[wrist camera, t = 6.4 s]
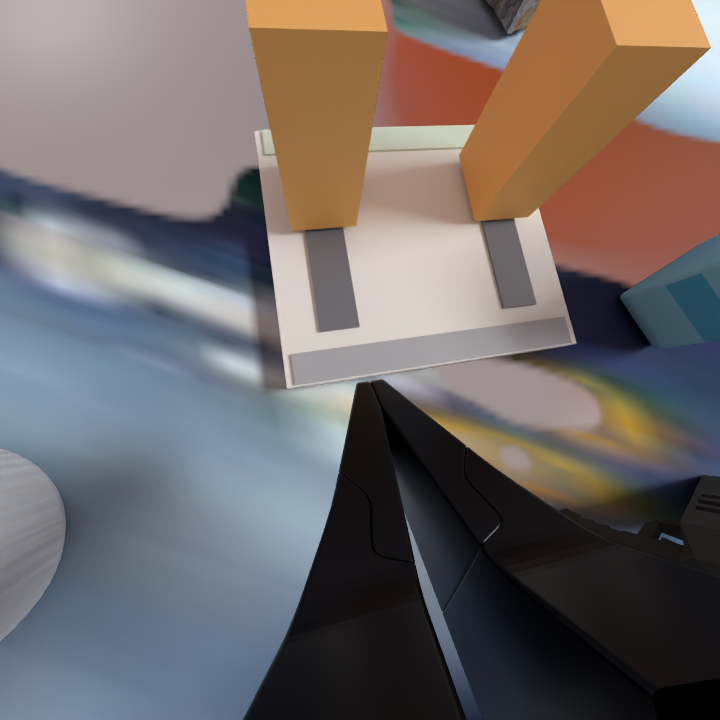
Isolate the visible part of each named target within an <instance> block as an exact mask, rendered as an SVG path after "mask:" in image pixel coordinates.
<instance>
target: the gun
mask: <svg viewBox="0 0 720 720" xmlns="http://www.w3.org/2000/svg"><path fill="white" fill-rule="evenodd" d="M561 513H562V514H564V515H565V516H567V517H568V518H570V519H571V520H573V521H574V522H576V523H577V524H579V525H581V526H582V527H584V528H586V529H587V530H589V531H591V532H593V533H595V534H597V535H599V536H601V537H603V538H605V539H607V540H609V541H612V542H614V543H617V544H619V545H622V546H625V547H628V548H631V549H634V550H637V551H640V552H643V553H647V554H650V555H653V556H656V557H659V558H662V559H665V560H668V561H671V562H674V563H677V564H680V565H684V566H687V567H690V568H693V569H696V570H699V571H702V572H705V573H708V574H711V575H714V576H717V577H720V477H716V476H707V475H703V476H702V477H701V479H700V481H699V483H698V485H697V487H696V489H695V492H694V494H693V496H692V498H691V500H690V502H689V504H688V506H687V508H686V510H685V512H684V514H683V516H682V518H681V521H658V520H655V521H650V522H645V524H644V525H643V526H642V528H641V529H640V531H639V532H638V534H634V533H630V532H626V531H622V530H621V531H618V530H614V529H611V528H610V526H607V525H602V524H598V523H594V521H593V520H590V519H585V518H581V517H580V515H578V514H576V513H574V512H572V511H570V510H568V509H563V510H562V511H561ZM661 533H665V534H667V535H670V536H673V537H675V538H678V539H681V540H683V544H684V546H683V545H680V544H677V543H674V542H672V541H670V540H668V539H666V538H663V537H662V538H661V540H662V541H661V540H658V538H659V537H660V535H661Z"/></svg>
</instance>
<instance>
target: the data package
mask: <svg viewBox="0 0 720 720" xmlns="http://www.w3.org/2000/svg"><path fill="white" fill-rule="evenodd" d="M620 299H621V301H622V302H623V304H624V305H625V307H626V308H627V310H628V311H629V313H630V314H631V316H632V317H633V319H634V320H635V321H636V323H637V324H638V326H639V327H640V329H641V330H642V332H643V333H644V335H645V336H646V338H647V339H648V341H649V342H650V344H651V345H652V346H653V347H655V348H672V347H678V346H685V345H691V344H697V343H703V342H709V341H715V340H720V234H719V235H717V236H715V237H713V238H711V239H709V240H707V241H705V242H703V243H701V244H700V245H698V246H696V247H695V248H693V249H692V250H690V251H689V252H687V253H685V254H684V255H682V256H681V257H679V258H678V259H676V260H674V261H673V262H671V263H670V264H668V265H666V266H665V267H663V268H662V269H660V270H659V271H657V272H655V273H654V274H652V275H651V276H649V277H648V278H646V279H644V280H643V281H641V282H640V283H638V284H636V285H635V286H633V287H632V288H630V289H628V290H627V291H625V292H624V293H623V294H622V295H621V296H620Z"/></svg>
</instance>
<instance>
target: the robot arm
mask: <svg viewBox="0 0 720 720" xmlns="http://www.w3.org/2000/svg"><path fill="white" fill-rule="evenodd" d="M404 512H405V514H406V517H407V520H408V522H409V525H410V528H411V530H412V533H413V536H414V538H415V541H416V544H417V546H418V549H419V552H420V554H421V557H422V560H423V562H424V565H425V568H426V570H427V573H428V576H429V578H430V581H431V583H432V586H433V589H434V591H435V594H436V597H437V599H438V602H439V605H440V607H441V610H442V612H443V616H444V618H445V621H446V624H447V626H448V629H449V632H450V634H451V637H452V640H453V642H454V645H455V648H456V650H457V653H458V656H459V658H460V661H461V664H462V666H463V669H464V672H465V674H466V677H467V680H468V682H469V685H470V688H471V690H472V693H473V695H474V698H475V701H476V703H477V706H478V709H479V711H480V714H481V717H482V719H483V720H720V577H717V576H714V575H711V574H708V573H705V572H702V571H699V570H696V569H693V568H690V567H687V566H684V565H680V564H677V563H674V562H671V561H668V560H665V559H662V558H659V557H656V556H653V555H650V554H647V553H643V552H640V551H637V550H634V549H631V548H628V547H625V546H622V545H619V544H617V543H614V542H612V541H609V540H607V539H605V538H603V537H601V536H599V535H597V534H595V533H593V532H591V531H589V530H587V529H586V528H584V527H582V526H581V525H579V524H577V523H576V522H574V521H573V520H571V519H570V518H568V517H567V516H565V515H564V514H562V513H561V512H559V511H558V510H556V509H555V508H553V507H552V506H550V505H549V504H547V503H546V502H544V501H543V500H541V499H540V498H538V497H537V496H535V495H534V494H532V493H531V492H529V491H528V490H526V489H525V488H523V487H522V486H520V485H519V484H517V483H516V482H514V481H513V480H511V479H510V478H509V477H507V476H506V475H504V474H503V473H501V472H500V471H498V470H497V469H496V468H494V467H493V466H492V465H490V464H489V463H488V462H487V461H485V460H484V459H483V458H481V457H480V456H479V455H477V454H476V453H475V452H474V451H472V450H471V449H470V448H469V447H466V445H465V444H463V443H462V442H461V441H460V440H458V439H457V438H456V437H455V436H453V435H452V434H451V433H450V432H448V431H447V430H446V429H445V428H443V427H442V426H441V425H440V424H438V423H437V422H436V421H435V420H433V419H432V418H431V417H429V416H428V415H427V414H426V413H424V412H423V411H422V410H421V409H419V408H418V407H417V406H416V405H414V404H413V403H412V402H411V401H409V400H408V399H407V398H406V397H404V396H403V395H402V394H401V393H399V392H398V391H397V390H396V389H394V388H393V387H392V386H391V385H389V384H388V383H387V382H386V381H384V380H382V379H380V380H373V381H371V382H368V381H367V382H361V383H357V385H356V389H355V394H354V399H353V404H352V409H351V414H350V419H349V424H348V429H347V434H346V439H345V444H344V449H343V454H342V459H341V464H340V469H339V474H338V478H337V483H336V488H335V492H334V496H333V501H332V505H331V509H330V512H329V515H328V518H327V522H326V525H325V528H324V532H323V535H322V537H321V540H320V543H319V546H318V549H317V552H316V555H315V558H314V561H313V564H312V567H311V570H310V573H309V576H308V579H307V581H306V584H305V587H304V590H303V593H302V596H301V599H300V601H299V604H298V607H297V609H296V612H295V614H294V617H293V619H292V622H291V624H290V627H289V629H288V631H287V634H286V636H285V638H284V640H283V642H282V644H281V646H280V648H279V650H278V652H277V654H276V656H275V658H274V660H273V662H272V664H271V666H270V668H269V670H268V672H267V674H266V676H265V678H264V680H263V681H262V683H261V685H260V687H259V689H258V691H257V693H256V695H255V697H254V699H253V701H252V703H251V705H250V707H249V709H248V711H247V713H246V715H245V717H244V719H243V720H466V717H465V714H464V712H463V709H462V706H461V703H460V700H459V697H458V695H457V692H456V689H455V686H454V683H453V680H452V678H451V675H450V672H449V669H448V666H447V663H446V661H445V658H444V655H443V652H442V649H441V646H440V644H439V641H438V638H437V635H436V632H435V629H434V627H433V624H432V621H431V618H430V615H429V612H428V610H427V607H426V604H425V601H424V597H423V593H422V590H421V586H420V582H419V578H418V574H417V569H416V566H415V560H414V555H413V551H412V546H411V542H410V537H409V532H408V528H407V523H406V519H405V514H404Z"/></svg>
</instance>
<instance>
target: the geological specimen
mask: <svg viewBox="0 0 720 720" xmlns="http://www.w3.org/2000/svg"><path fill="white" fill-rule="evenodd" d="M486 1H487V3H488V5H489V6H491V7H492V8H494V12H495V13H496V15H497V17H498V18H499V20H500V21H501V22H502V24H503V27H504V30H505V31H506V32H507V34H511V33H513V32H514V31H516V30H519V29H526V28H527V26H528V24H529V23H530V21H531V19H532V17H533V15H534V13H535V11H536V9H537V7H538V6H539V4H540V2H541V0H486Z"/></svg>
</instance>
